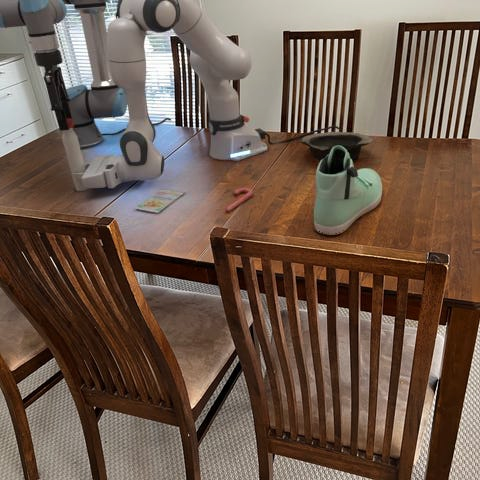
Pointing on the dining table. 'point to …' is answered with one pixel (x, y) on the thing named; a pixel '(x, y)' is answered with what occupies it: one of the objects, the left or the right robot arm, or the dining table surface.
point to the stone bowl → (336, 143)
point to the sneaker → (343, 192)
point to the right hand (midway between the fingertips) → (75, 171)
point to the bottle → (74, 156)
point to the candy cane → (236, 192)
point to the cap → (70, 123)
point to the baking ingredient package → (159, 200)
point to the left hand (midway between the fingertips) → (66, 126)
